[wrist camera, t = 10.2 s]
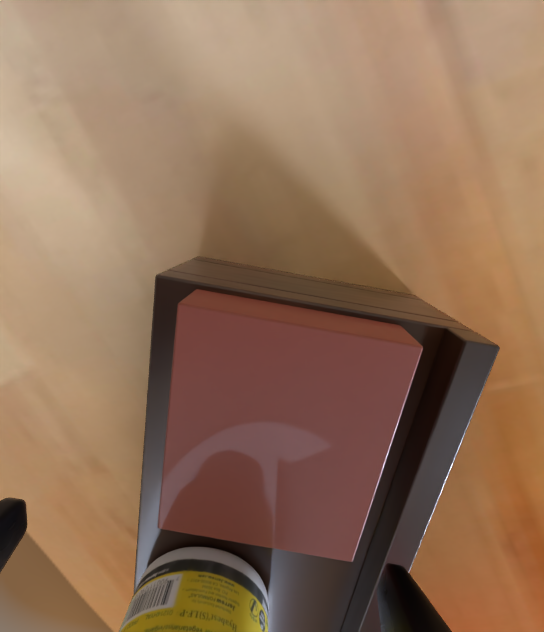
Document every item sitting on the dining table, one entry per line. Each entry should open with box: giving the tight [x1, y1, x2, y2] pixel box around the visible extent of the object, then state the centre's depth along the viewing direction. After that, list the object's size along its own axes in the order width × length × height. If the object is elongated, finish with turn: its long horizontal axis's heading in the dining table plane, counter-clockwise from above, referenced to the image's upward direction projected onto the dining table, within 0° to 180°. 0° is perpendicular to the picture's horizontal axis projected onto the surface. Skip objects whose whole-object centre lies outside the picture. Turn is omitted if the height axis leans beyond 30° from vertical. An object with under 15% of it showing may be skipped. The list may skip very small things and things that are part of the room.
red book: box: [158, 289, 423, 562], centre depth 10 cm, size 6×8×2 cm
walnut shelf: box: [134, 257, 500, 632], centre depth 15 cm, size 10×20×6 cm, turn 170°
